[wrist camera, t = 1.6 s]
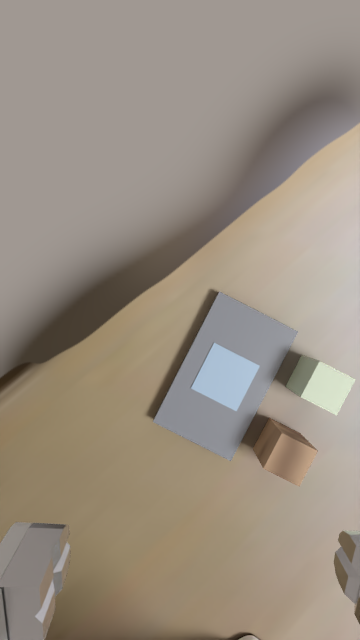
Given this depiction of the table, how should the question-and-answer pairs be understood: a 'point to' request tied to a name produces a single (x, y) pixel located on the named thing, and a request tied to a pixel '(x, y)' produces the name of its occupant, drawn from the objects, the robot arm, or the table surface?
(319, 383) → the green cube
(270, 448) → the walnut cube
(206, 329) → the board
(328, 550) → the table surface
